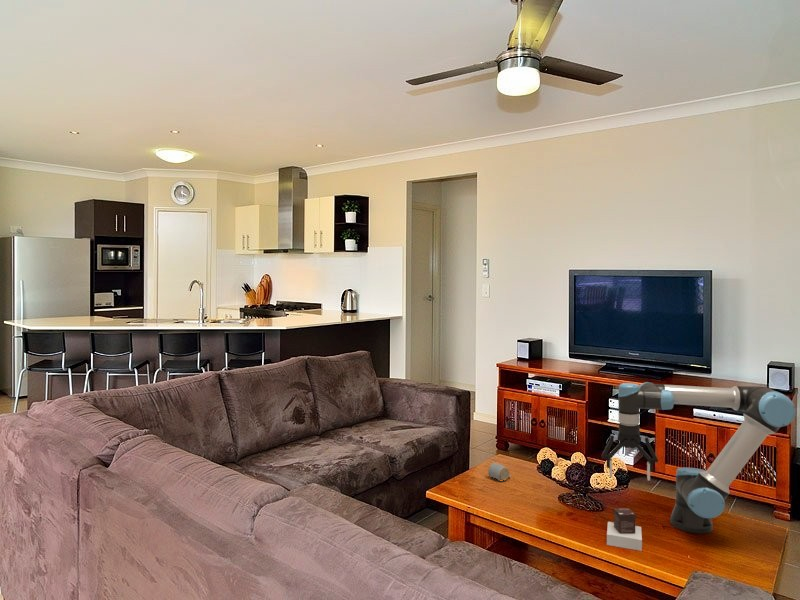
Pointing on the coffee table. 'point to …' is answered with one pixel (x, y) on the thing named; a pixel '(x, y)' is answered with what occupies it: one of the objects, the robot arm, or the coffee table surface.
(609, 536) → the base block
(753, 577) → the coffee table surface
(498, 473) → the ceramic mug
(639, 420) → the robot arm
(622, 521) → the box
